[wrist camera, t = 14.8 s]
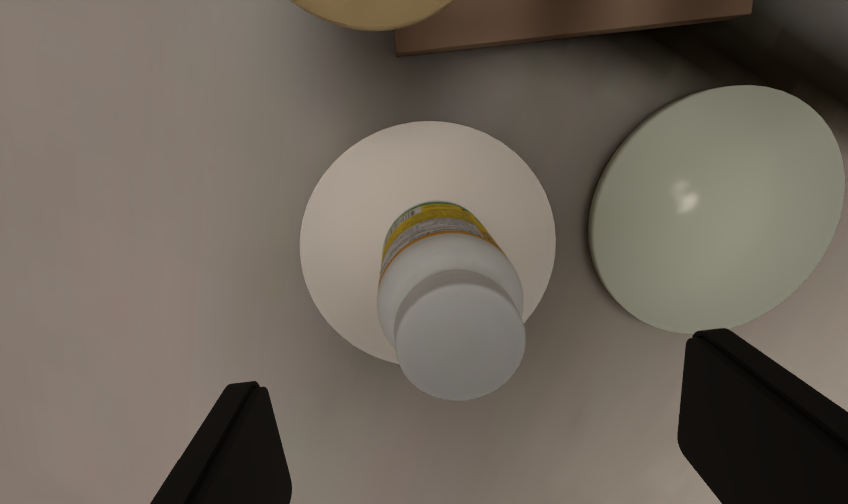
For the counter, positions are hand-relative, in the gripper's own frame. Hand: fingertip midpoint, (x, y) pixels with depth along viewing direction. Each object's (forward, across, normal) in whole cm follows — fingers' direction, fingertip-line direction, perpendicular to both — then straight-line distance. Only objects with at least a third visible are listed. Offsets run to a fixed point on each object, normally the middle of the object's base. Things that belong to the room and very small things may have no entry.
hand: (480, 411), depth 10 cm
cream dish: (+14, +1, +1) cm, 15 cm away
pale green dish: (+15, -14, +1) cm, 21 cm away
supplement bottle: (+13, 0, 0) cm, 13 cm away
